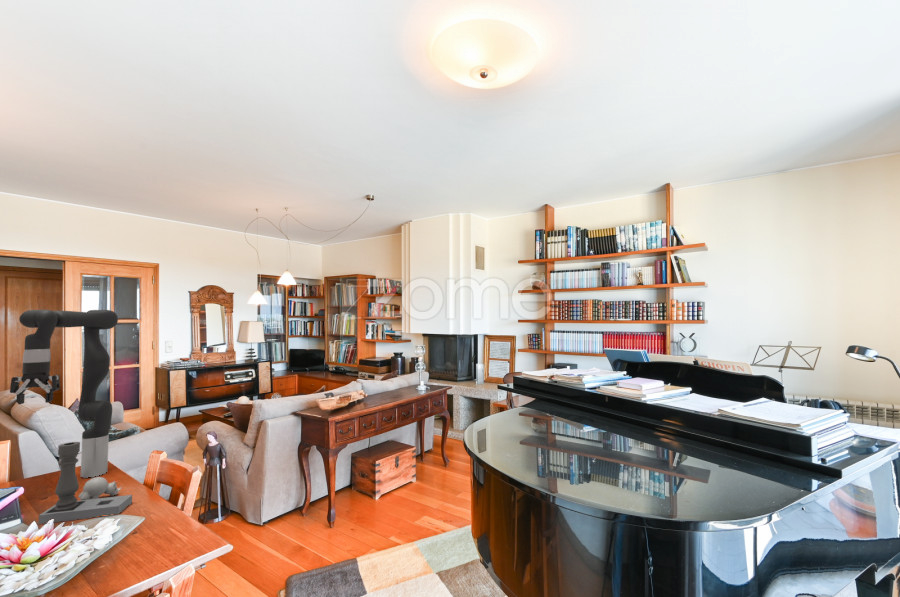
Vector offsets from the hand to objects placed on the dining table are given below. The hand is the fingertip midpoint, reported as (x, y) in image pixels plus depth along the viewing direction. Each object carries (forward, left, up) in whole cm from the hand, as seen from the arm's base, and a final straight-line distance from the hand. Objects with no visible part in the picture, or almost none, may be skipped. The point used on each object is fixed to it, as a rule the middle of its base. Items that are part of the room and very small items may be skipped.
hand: (34, 403), depth 155 cm
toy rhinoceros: (+3, +24, -38) cm, 45 cm away
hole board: (+16, +26, -38) cm, 49 cm away
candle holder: (+15, +19, -38) cm, 46 cm away
